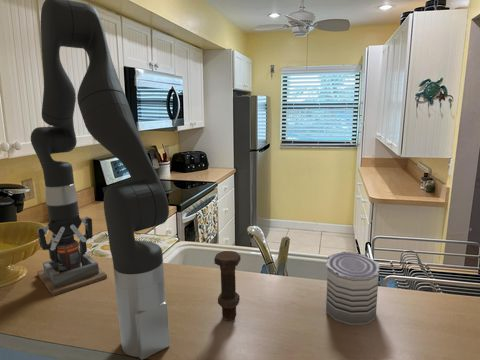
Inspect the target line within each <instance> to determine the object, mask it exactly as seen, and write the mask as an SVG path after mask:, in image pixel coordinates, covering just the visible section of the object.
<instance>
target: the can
mask: <svg viewBox="0 0 480 360" xmlns="http://www.w3.org/2000/svg"><path fill="white" fill-rule="evenodd" d="M325 266H326V267H327V274H326V275H327V277H326V280H327V281H326V300H325V302H326V303H325V305H326V307H325V313H326V314H328V316H330V317H331V318H332V319H333V320H334V321H336V322H339V323H342V324H346V325H348V326H367V325H368V324H370V323H371V322H373V321H374V320H376V317H377V305H378V303H377V302H378V289H379V277H380V276H379V275H380V263H379V262H377V261H376V260H374V259H372V258H371V257H369V256H367V255H366V254H362V253H355V252H349V251H341V252H339V253H335V254H331V255H328V257H327V261H326V264H325Z"/></svg>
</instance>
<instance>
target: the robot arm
mask: <svg viewBox="0 0 480 360" xmlns="http://www.w3.org/2000/svg"><path fill="white" fill-rule="evenodd" d="M41 6H42V7H41V9H40V10H41V11H40V42H41V43H40V45H41V58H42V59H41V60H42V71H43V72H42V73H43V92H42V93H43V94H42V105H41V119H42V120H43V122H44V123H45V124H47V125H49V126H41V127H40V126H39V127H35V128H34V129H33V130H32V132H31V134H30V143H31V146H32V148H33V150H34V152H35V154H36V156H37V159H38V161H39V163H40V165H41V166H40V167H41V169H42V171H43V172H42V173H43V179H44V180H43V181H44V186H45V187H44V188H45V189H44V190H45V203H46V210H47V216H48V224H47V225H46V226H42V227H41V226H38V227H36V229H35V230H36V234H37V238H38V242H39V247H40V248H41V249H42V250H43V251H48V255H49V259H50V261H51V260H52V261H53V262H54V263H56V262H58V261H57V253H56V249H55V247H56V245H57V244H58V242H59V240H60V238H63V237H67V236H71V235H74V236H76V237H77V238H78V239H79V241H78V243H79V250H80V253H81V254H82V255H85V253H87V251H88V249H87V247H88V246H87V241H88V240H89V239H90V240H91V239H92V238H93V235H94V234H93V219H92V218H91V217H90V216H85V217H82V218H81V217H80V212H79V211H80V210H79V204H78V202H79V201H78V194H77V187H76V184H75V180H74V172H73V171H74V170H73V166H72V163H70V162H68V161H62V160H61V161H60V160H54V159H53V157H52V156H51V155H54V154H63V153H70V152H71V151H73V150H74V149H75V148H76V146H77V142H78V141H77V135H76V132H75V127H74V114H75V107H76V102H77V105H78V109H79V111H80V114H81V116H82V121H83V123H84V126H85V128H86V130H87V132H88V133H89V135H90V136H91V137H92V138H93V139H94V140H95V141H97V142H98V143H99V144H100V145H101V146H102V147H103V148H104V149H106V150H107V151H108V152H109V153H111V155H113V156H114V157H115V158H116V159H118V161H120V163H121V164H122V166H124V167H125V170H126V171H127V172H128V174H129V176H130V178H131V180H132V181H130V182H125V183H120V184H119V183H118V184H114V185H110V186H109V187H108V188H106V190H105V191H104V195H103V211H104V218H105V223H106V229H107V230H106V231H107V236H108V237H107V238H108V242H109V243H108V245H109V249H110V253H111V254H110V255H111V259H112V264H113V265H112V266H113V273H114V284H115V294H116V303H117V316H118V325H119V335H120V343H121V350H122V352H123V353H124V354H126V355H128V356H130V357H134V358H139V359H140V360H144V359H147V358H150V356H152V355H154V354H157V353H159V352H160V351H163V350H165V349H167V348H168V347H170V346H171V344H170V343H171V341H170V328H169V314H168V313H169V312H168V303H167V300H166V299H167V298H166V289H165V288H166V286H165V272H164V271H165V270H164V261H163V260H164V257H163V256H164V255H163V248H162V247H161V246H160V245H159V244H157V243H155V242H153V241H149V240H147V241H146V240H136V238H135V233H136V232H140V231H144V230H148V229H152V228H154V227H157V226H161V225H162V224H163V225H164V224H165V223H166V222H167V220H168V219H169V216H170V205H169V200H168V197H167V193H166V191H165V188H164V186H163V184H162V181H161V179H160V177H159V175H158V173H157V171H156V169H155V167H154V165H153V163H152V161H151V159H150V156H149V154H148V153H147V149H146V148H145V146H144V144H143V141H142V139H141V135H140V133H139V130H138V128H137V125H136V122H135V120H134V115H133V113H132V109H131V107H130V105H129V104H130V103H129V102H128V99H127V96H126V94H125V92H124V89H123V87H122V85H121V82H120V79H119V76H118V74H117V71H116V68H115V65H114V62H113V59H112V55H111V53H110V49H109V44H108V41H107V37H106V33H105V30H104V27H103V22H102V20H101V17H100V15H99V12H98V10H97V9H96V8H95V7H94V6H92V5H91V4H89V3H84V2H81V1H73V0H44V2H43V3H42V5H41ZM61 47H65V48H74V49H83V50H84V51H85V52H86V54H87V56H88V67H87V69H86V72H85V74H84V76H83V79H82V80H81V83H80V86H79V88H78V91H77V93H76V90H75V87H74V85H73V83H72V81H71V78H70V77H69V76H68V73H67V72H66V70H65V68H64V67H63V64H62V62H61V57H60V49H61ZM76 94H77V95H76ZM76 96H77V97H76ZM76 100H77V101H76ZM81 225H83V226H84V230H85V231H84V233H85V234H84V235H83V233H82V232H81V231H80V230H79V228H80V226H81ZM48 231H50V232H51V233H52V234H51V236H50V241H49V242H48V243H47V240H46V236H47V234H48Z"/></svg>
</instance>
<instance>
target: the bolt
mask: <svg viewBox="0 0 480 360" xmlns="http://www.w3.org/2000/svg"><path fill="white" fill-rule="evenodd" d="M213 261H214V265H217V266H219V271H220V287H221V290H220V291H221V292H220V293H219V294H218V298H217V304H218V305H219V306H220V307H221V314H222V318H223V319H224V320H225V321H233V320H235V319H236V318H237V306H238V305H239V303H240V294H239V293H237V292H236V287H237V286H236V269H237V268H236V267H238V265H239V264H240V262H241V254H240V253H238V252H236V251H235V250H222V251H219V252H218V253H216V254H215V256H214V260H213Z"/></svg>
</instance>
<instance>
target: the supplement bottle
mask: <svg viewBox="0 0 480 360" xmlns="http://www.w3.org/2000/svg"><path fill="white" fill-rule="evenodd" d="M55 249H56V253H57V261H58V262H57V263H58V269H59V273H62V272H65V271H68V270H72V269H75V268H78V267H82V265H81V257H80V246H79V241H77V240H76V239H75V234H74V235H71V236H67V237H63V238H60V240H59V242H58V243H57V245H56V247H55Z"/></svg>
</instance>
